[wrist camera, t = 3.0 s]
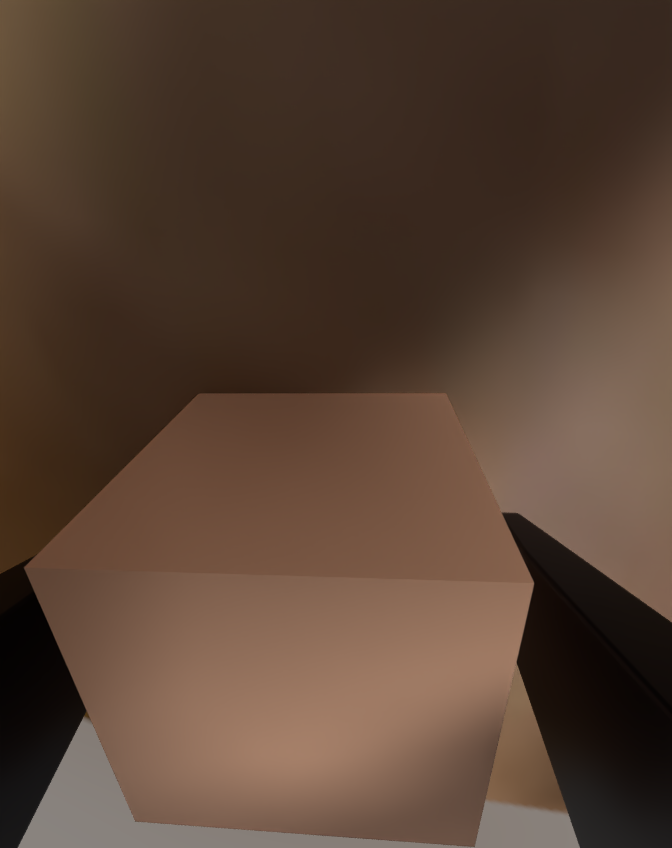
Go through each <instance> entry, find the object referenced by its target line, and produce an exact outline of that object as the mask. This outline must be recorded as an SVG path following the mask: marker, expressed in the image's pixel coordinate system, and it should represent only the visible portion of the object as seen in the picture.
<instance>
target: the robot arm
mask: <svg viewBox="0 0 672 848" xmlns="http://www.w3.org/2000/svg"><path fill="white" fill-rule="evenodd" d="M502 515H503V517H504V519H505V521H506V523H507V526H508V528H509V530H510V532H511V534H512V536H513V538H514V541H515V543H516V545H517V547H518V549H519V551H520V554H521V556H522V558H523V560H524V562H525V564H526V566H527V569H528V571H529V573H530V575H531V577H532V579H533V582H534V587H533V591H532V596H531V600H530V604H529V609H528V613H527V618H526V622H525V626H524V631H523V635H522V640H521V644H520V649H519V653H518V657H517V665H518V668H519V671H520V674H521V677H522V679H523V682H524V685H525V688H526V691H527V694H528V697H529V700H530V703H531V706H532V709H533V712H534V715H535V717H536V720H537V723H538V726H539V729H540V732H541V735H542V738H543V741H544V744H545V747H546V750H547V753H548V755H549V758H550V761H551V764H552V767H553V770H554V773H555V776H556V779H557V782H558V785H559V788H560V791H561V793H562V796H563V799H564V802H565V805H566V808H567V811H568V814H569V817H570V820H571V823H572V826H573V828H574V831H575V834H576V837H577V840H578V843H579V846H580V848H672V622H670V621H669V620H668V619H666V618H665V617H663V616H662V615H661V614H659V613H658V612H656V611H655V610H654V609H652V608H651V607H649V606H648V605H647V604H645V603H644V602H642V601H641V600H640V599H638V598H637V597H635V596H634V595H633V594H631V593H630V592H628V591H627V590H626V589H624V588H623V587H621V586H620V585H618V584H617V583H616V582H614V581H613V580H611V579H610V578H609V577H607V576H606V575H604V574H603V573H602V572H600V571H599V570H597V569H596V568H595V567H593V566H592V565H590V564H589V563H588V562H586V561H585V560H583V559H582V558H581V557H579V556H578V555H576V554H575V553H574V552H572V551H571V550H569V549H568V548H566V547H565V546H564V545H562V544H561V543H559V542H558V541H557V540H555V539H554V538H552V537H551V536H550V535H548V534H547V533H545V532H544V531H543V530H541V529H540V528H538V527H537V526H536V525H534V524H533V523H531V522H530V521H529V520H527V519H526V518H524V517H523V516H522V515H520V514H518V513H502ZM35 556H36V555H35ZM35 556H33V557H32V558H30V559H28V560H26V561H24V562H22V563H20V564H18V565H16V566H14V567H13V568H11V569H9V570H7V571H5V572H3V573H1V574H0V848H18V846H19V844H20V842H21V840H22V838H23V836H24V834H25V832H26V830H27V828H28V826H29V824H30V822H31V820H32V818H33V816H34V814H35V812H36V810H37V808H38V806H39V804H40V802H41V800H42V798H43V796H44V794H45V792H46V790H47V788H48V786H49V784H50V782H51V780H52V778H53V776H54V774H55V772H56V770H57V768H58V766H59V764H60V762H61V760H62V758H63V756H64V754H65V752H66V751H67V749H68V747H69V744H70V742H71V741H72V738H73V736H74V735H75V733H76V730H77V729H78V727H79V725H80V723H81V721H82V719H83V717H84V715H85V713H86V711H87V710H86V708H85V706H84V703H83V701H82V699H81V697H80V694H79V692H78V690H77V687H76V685H75V683H74V681H73V678H72V676H71V674H70V671H69V669H68V667H67V665H66V662H65V660H64V658H63V655H62V653H61V651H60V649H59V646H58V644H57V642H56V640H55V637H54V635H53V633H52V630H51V628H50V626H49V624H48V621H47V619H46V617H45V614H44V612H43V610H42V608H41V605H40V603H39V601H38V599H37V596H36V594H35V592H34V589H33V587H32V585H31V583H30V580H29V578H28V576H27V573H26V571H25V569H24V567H25V566H26V565H27V564H28V563H29V562H30V561H31V560H32V559H33V558H34V557H35Z"/></svg>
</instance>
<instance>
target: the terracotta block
mask: <svg viewBox="0 0 672 848" xmlns="http://www.w3.org/2000/svg"><path fill="white" fill-rule="evenodd" d="M24 569H25V571H26V573H27V576H28V578H29V580H30V583H31V585H32V587H33V589H34V592H35V594H36V596H37V599H38V601H39V603H40V605H41V608H42V610H43V612H44V614H45V617H46V619H47V621H48V624H49V626H50V628H51V630H52V633H53V635H54V637H55V640H56V642H57V644H58V646H59V649H60V651H61V653H62V655H63V658H64V660H65V662H66V665H67V667H68V669H69V671H70V674H71V676H72V678H73V681H74V683H75V685H76V687H77V690H78V692H79V694H80V697H81V699H82V701H83V703H84V706H85V708H86V710H87V712H88V715H89V717H90V719H91V722H92V724H93V726H94V728H95V730H96V733H97V735H98V738H99V740H100V742H101V744H102V747H103V749H104V751H105V753H106V756H107V758H108V760H109V763H110V765H111V767H112V769H113V772H114V774H115V776H116V779H117V781H118V783H119V785H120V788H121V790H122V792H123V794H124V797H125V799H126V801H127V804H128V806H129V808H130V810H131V813H132V815H133V817H134V820H135V821H136V822H148V823H161V824H175V825H189V826H203V827H215V828H228V829H242V830H255V831H268V832H282V833H295V834H309V835H322V836H337V837H349V838H363V839H376V840H389V841H403V842H416V843H430V844H443V845H457V846H470V847H475V842H476V838H477V834H478V829H479V825H480V820H481V816H482V812H483V807H484V803H485V799H486V794H487V790H488V785H489V781H490V776H491V772H492V768H493V763H494V759H495V754H496V750H497V746H498V741H499V737H500V732H501V728H502V724H503V719H504V715H505V710H506V706H507V701H508V697H509V693H510V688H511V684H512V679H513V675H514V671H515V666H516V662H517V657H518V653H519V649H520V644H521V640H522V635H523V631H524V626H525V622H526V618H527V613H528V609H529V604H530V600H531V596H532V591H533V587H534V582H533V579H532V577H531V575H530V573H529V571H528V569H527V566H526V564H525V562H524V560H523V558H522V556H521V554H520V551H519V549H518V547H517V545H516V543H515V541H514V538H513V536H512V534H511V532H510V530H509V528H508V526H507V523H506V521H505V519H504V517H503V515H502V513H501V511H500V508H499V506H498V504H497V502H496V500H495V498H494V495H493V493H492V491H491V489H490V487H489V485H488V483H487V480H486V478H485V476H484V474H483V472H482V470H481V467H480V465H479V463H478V461H477V459H476V457H475V455H474V452H473V450H472V448H471V446H470V444H469V442H468V440H467V437H466V435H465V433H464V431H463V429H462V427H461V424H460V422H459V420H458V418H457V416H456V414H455V412H454V409H453V407H452V405H451V403H450V401H449V399H448V396H447V394H446V393H199V394H198V395H197V396H196V397H195V398H194V399H193V400H192V401H191V402H190V403H189V404H188V405H187V406H186V407H185V408H184V409H183V410H182V411H181V412H180V413H179V414H178V415H177V416H176V417H175V418H174V419H173V420H172V421H171V422H170V423H169V424H168V425H167V426H166V427H165V428H164V429H163V430H162V431H161V432H160V433H159V434H158V435H157V436H156V437H155V438H154V439H153V440H152V441H151V442H150V443H149V444H148V445H147V446H146V447H145V448H144V449H143V450H142V451H140V452H139V453H138V454H137V455H136V456H135V457H134V458H133V459H132V460H131V461H130V462H129V463H128V464H127V465H126V466H125V467H124V468H123V469H122V470H121V471H120V472H119V473H118V474H117V475H116V476H115V477H114V478H113V479H112V480H111V481H110V482H109V483H108V484H107V485H106V486H105V487H104V488H103V489H102V490H101V491H100V492H99V493H98V494H97V495H96V496H95V497H94V498H93V499H92V500H91V501H90V502H89V503H88V504H87V505H86V506H85V507H84V508H83V509H82V510H81V511H80V512H79V513H78V514H77V515H76V516H75V517H74V518H73V519H72V520H71V521H70V522H69V523H68V524H67V525H66V526H65V527H64V528H63V529H62V530H61V531H60V532H59V533H58V534H57V535H56V536H55V537H54V538H53V539H52V540H51V541H50V542H49V543H48V544H47V545H46V546H45V547H44V548H43V549H42V550H41V551H40V552H39V553H38V554H37V555H36V556H35V557H34V558H33V559H32V560H31V561H30V562H29V563H28V564H27V565H26V566H25V567H24Z"/></svg>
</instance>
